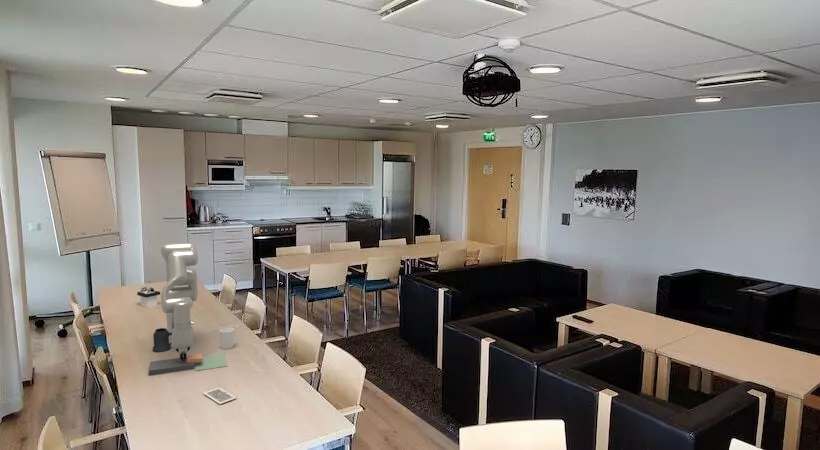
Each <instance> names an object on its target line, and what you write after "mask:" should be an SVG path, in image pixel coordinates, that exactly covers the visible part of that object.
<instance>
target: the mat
mask: <svg viewBox="0 0 820 450" xmlns="http://www.w3.org/2000/svg"><path fill="white" fill-rule="evenodd" d="M227 362H228V361H227V358H226V354H225V353H219V354H212V355H204V356H203V355H202V362H197V363H194V370H195V372H199V371H206V370H212V369H213V370H214V369H221V368H227V367H228V363H227Z"/></svg>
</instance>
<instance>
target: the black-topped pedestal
mask: <svg viewBox="0 0 820 450" xmlns="http://www.w3.org/2000/svg"><path fill="white" fill-rule="evenodd" d="M159 295H160V296H161V291H158V290H157V291H156V290H155V287H149V286H145V287H140V289H139V291H137V296H139V297H140V306H141V305H142V306H141V307H145V306H146V308H151V307H154V305H156V306H158V296H159ZM150 306H151V307H150Z"/></svg>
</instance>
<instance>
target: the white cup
mask: <svg viewBox="0 0 820 450" xmlns="http://www.w3.org/2000/svg"><path fill="white" fill-rule="evenodd" d="M219 339H220V341H219V342H220V348H221V349H223V350H229V349H232V348H233V347H234V345H235V328H234V327H224V328H221V329H219Z"/></svg>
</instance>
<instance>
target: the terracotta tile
mask: <svg viewBox="0 0 820 450" xmlns="http://www.w3.org/2000/svg"><path fill="white" fill-rule="evenodd" d="M186 356H187V363H194V364H195V363H197V362H202V357H203V353H186Z"/></svg>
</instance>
